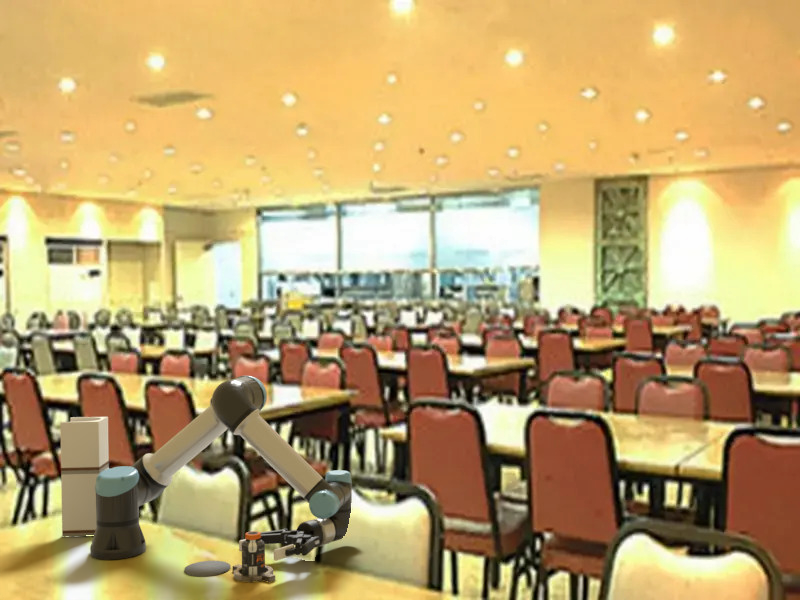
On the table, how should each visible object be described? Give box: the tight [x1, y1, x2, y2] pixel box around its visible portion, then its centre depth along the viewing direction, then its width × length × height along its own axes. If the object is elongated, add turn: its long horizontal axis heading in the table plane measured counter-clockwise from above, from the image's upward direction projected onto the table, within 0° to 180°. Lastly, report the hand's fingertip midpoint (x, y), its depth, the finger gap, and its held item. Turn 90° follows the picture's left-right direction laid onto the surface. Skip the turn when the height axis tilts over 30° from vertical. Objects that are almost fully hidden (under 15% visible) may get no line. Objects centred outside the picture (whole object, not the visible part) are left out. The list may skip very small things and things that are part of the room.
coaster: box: [184, 560, 231, 577], centre depth 242 cm, size 12×12×1 cm
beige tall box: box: [59, 416, 110, 537], centre depth 280 cm, size 11×11×35 cm
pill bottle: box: [241, 530, 266, 575], centre depth 236 cm, size 6×6×11 cm
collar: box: [232, 564, 276, 583], centre depth 236 cm, size 15×10×1 cm
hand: (256, 550), depth 237 cm, fingers open, 13 cm apart
